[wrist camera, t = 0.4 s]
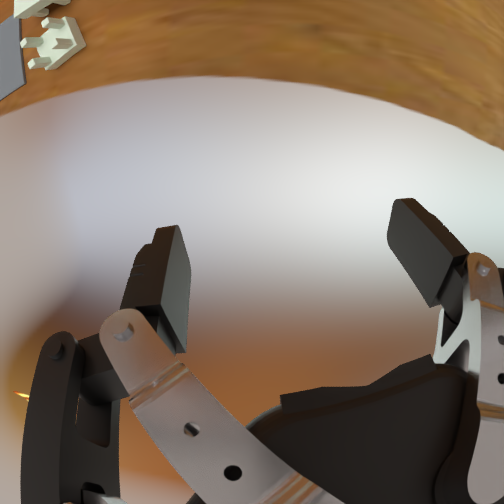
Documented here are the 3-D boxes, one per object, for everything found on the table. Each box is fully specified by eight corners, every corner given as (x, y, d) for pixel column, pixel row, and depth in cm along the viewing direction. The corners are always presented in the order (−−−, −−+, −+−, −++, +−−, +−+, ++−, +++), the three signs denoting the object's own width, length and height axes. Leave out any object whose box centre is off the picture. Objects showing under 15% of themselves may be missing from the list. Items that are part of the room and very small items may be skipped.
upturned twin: (45, 42, 20) (17, 42, 14) (75, 18, 19) (48, 13, 14) (56, 68, 23) (28, 73, 18) (86, 45, 22) (60, 44, 17)
